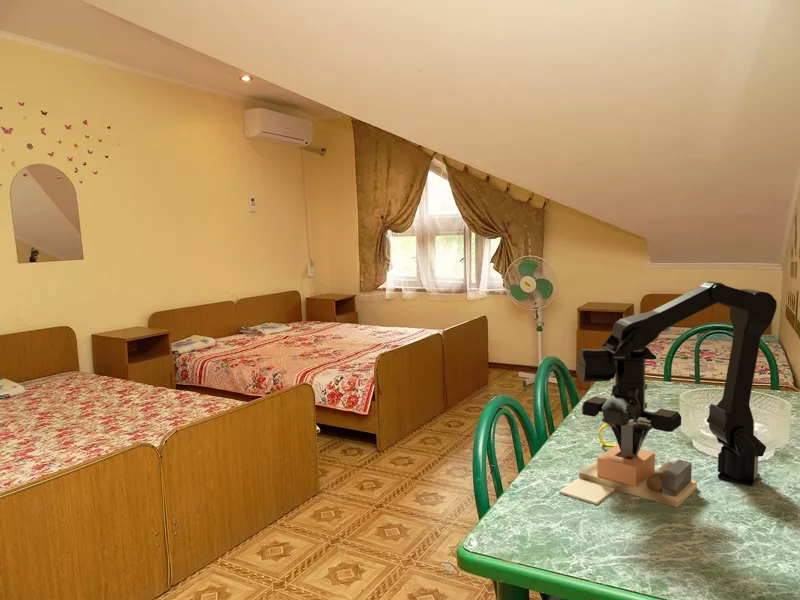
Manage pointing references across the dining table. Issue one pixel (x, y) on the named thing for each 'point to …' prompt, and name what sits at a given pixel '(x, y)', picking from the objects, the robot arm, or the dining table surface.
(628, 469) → the orange block with hole
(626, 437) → the gray rectangular bar
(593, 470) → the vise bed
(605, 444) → the watch
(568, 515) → the dining table surface
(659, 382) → the dining table surface
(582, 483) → the beige square tile
